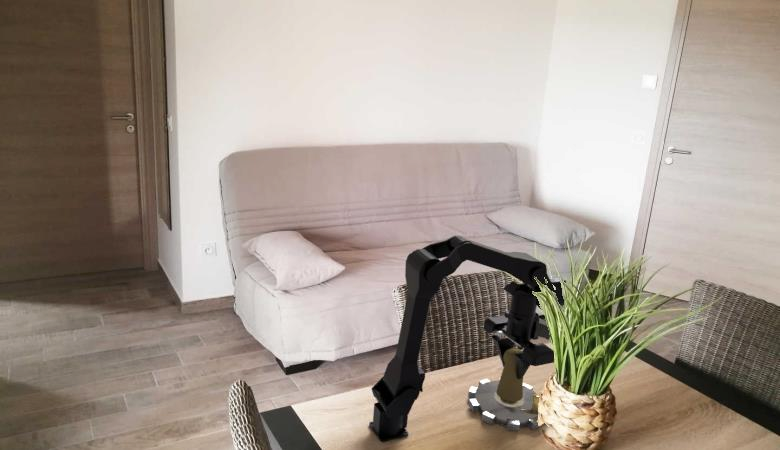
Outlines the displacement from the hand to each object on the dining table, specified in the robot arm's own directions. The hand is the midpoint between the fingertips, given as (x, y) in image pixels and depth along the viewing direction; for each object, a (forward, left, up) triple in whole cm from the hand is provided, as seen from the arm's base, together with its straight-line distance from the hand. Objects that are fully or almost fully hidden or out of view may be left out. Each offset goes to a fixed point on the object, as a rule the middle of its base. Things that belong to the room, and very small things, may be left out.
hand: (512, 373), depth 133 cm
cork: (0, 0, -6) cm, 6 cm away
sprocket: (0, 0, -9) cm, 9 cm away
